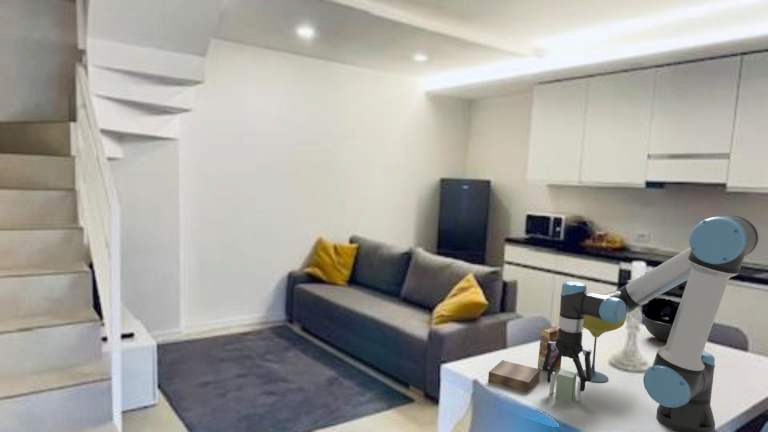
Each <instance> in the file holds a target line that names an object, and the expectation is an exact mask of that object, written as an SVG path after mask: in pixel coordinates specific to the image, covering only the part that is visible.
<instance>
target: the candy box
mask: <svg viewBox="0 0 768 432" xmlns="http://www.w3.org/2000/svg"><path fill="white" fill-rule="evenodd" d="M559 328H560V327H559V326H551V327H547V328H541V330H540V331H541V332H540V339H539V349H538V361H537V369H540V371H541V370H542V371H544V370H543V369H542V368H543V364H544V360H545V357H546V353H547V343H548V342H549V341H552V342H557V338H558V329H559ZM558 353H559V351H558V349H557V347H556V346H555V347H554V348H553V351H552V354H551V358H550V362H549V365H548V367H549V368H550V367H551V365H552V363H553V362H554V360H555V358H556V357H557V355H558ZM562 358H563V356H562V357H561V359H560V360H559V362H558V364H557V365H556V367H555V368H554V370H556V369H560V368H561V366H562Z"/></svg>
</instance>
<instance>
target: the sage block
mask: <svg viewBox="0 0 768 432" xmlns="http://www.w3.org/2000/svg"><path fill="white" fill-rule="evenodd" d="M576 383H577V372H574V371H570V370H566V369H560V370H559V371H558V372H557V374H556V386H555V398H557V399H560V400H564V401H568V402H572V401H573V400H574V398H575V395H576V387H577V386H576Z"/></svg>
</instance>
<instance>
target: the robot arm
mask: <svg viewBox="0 0 768 432" xmlns="http://www.w3.org/2000/svg"><path fill="white" fill-rule="evenodd" d="M688 239H689V241H688V243H689V244H688V245H689V247H688V248H687V249H685V250H682V251H681V252H680V253H678V254H676V255H675V256H673V257H671V258H669V259H668V260H666V261H664V262H662V263H661V264H659V265H658V266H655V267H654V268H651V269H650V270H649V271H647V272H646V273H644V274H642V275H640V276H639V277H637V278H635V279H634V280H632V281H630V282H629V283H627V284H625V285H623V286H622V287H619V288H618V289H617V290H614V291H611V292H608V293H604V294H600V293H596V292H595V293H594V292H591V291H587V290H588V289H587V285H586V284H585V283H582V282H579V281H565V282H563V283H562V285H561V292H560V306H559V307H560V308H559V316H558V326H557V327H560V328H559V329H558V338H557V342H552V341H549V342H548V343H547V353H546V357H545V360H544V364H543V368H542V369H543V370H542V371H544V372H547V378H546V380H547V383H549V394H550V395H552V394H553V393H554V391H555V382H556V381H555V380H556V379H555V378H556V372H554V370H555V369H554V368H555V367H556V365H557V364H558V362H559V360H560V359H561V360H562V358H563V357H565V358H569V359H572V361H573V363H574V366H575V369H576V371H577V372H578V374H579V376H578V377H579V379H578V382H577V390H576V392H577V393H576V400H575V401H577V402H580V400H581V398H582V392H584V391H585V390H586V382H588V383H590V381H591V379H592V371H591V368H592V364H591V363H592V362H591V354H592V349H586V348H584V347H583V343H582V342H583V330H584V327H583V321H584V315H586V316H590V317H593V318H597V319H601V320H604V321H606V322H613V323H619V322H621V321H622V319H623V318H624V316H625V317H626V314H629V313H631V312H634V311H635V310H637V308H638V307H641V306H642V305H643V304H645V303H647V302H650V301H652V300H654V299H656V298H657V297H658V296H660V295H662V294H664V293H666V292H668V291H669V290H671V289H673V288H675V287H677V286H679V285H680V284H682V283H684V282H686V285H685V288H684V290H683V294H682V297H681V299H680V303H679V306H678V307H677V308H678V311H677V314H676V317H675V320H674V323H673V326H672V329H671V332H670V335H669V338H668V341H666V343H665V344H666V345H664V346H661V347H659V348H658V349H657V352H656V355H655V357H654V360H653V364H652V366H650V367H648V368H647V369H646V371H645V372H644V375H643V379H642V380H643V381H642V382H643V386H644V389H645V391H646V392H647V394H648V396H649V397H650V398H651V399H652V400H653V401H655V402H656V403H657V404H658V406H657V409H656V419H657V421H658V422H659V423H660V424H662V426H663V425H664V426H665V427H666V428H668V429H670V430H672V431H674V432H715V430H716V422H715V418H714V415H713V410H712V406H711V401H712V400H711V399H712V393H713V392H712V391H713V383H714V373H715V368H716V365H715V361H716V360H715V357H714V355H713V354H711V353H710V352H708V351H705V347H706V344H707V341H708V339H709V336H710V333H711V330H712V327H713V325H714V321H715V319H716V316H717V314H718V310H719V308H720V305H721V302H722V299H723V297H724V294H725V291H726V288H727V285H728V283H729V279H730V278H732V277H736V276H737V275H739V273H740V270H741V267H742V265H743V262H744V259H745V257H746V256H748V255H750V254H751V253H752V252H754V251H755V250H756V248H757V246H758V243H759V239H760V238H759V232H758V230H757V227H756V226H755V225H754V223H752V222H751V221H750V220H748V219H746V218H745V217H742V216H739V215H738V216H737V215H726V216H722V215H721V216H719V215H718V216H712V217H709V218H705V219H704V220H702V221H700V222H699V223H698V224H696V225H695V226H694V228H693V229H692V230H691V232H690V235H689V237H688ZM555 346H556V347H557V349H558V351H559V353H558V355H557V357H556V358H555V360H554V362H553V363H552V365H551V367H550V368H549V367H548V365H549V362H550V358H551V354H552V351H553V348H554V347H555ZM580 353H582V355H583V357H584V367H585V370H586V376H585V373H584V371H583V370H584V368H583V365H582V363H581V360H580V359H581V358H580ZM561 357H562V358H561Z"/></svg>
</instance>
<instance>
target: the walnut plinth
mask: <svg viewBox="0 0 768 432" xmlns="http://www.w3.org/2000/svg"><path fill="white" fill-rule="evenodd" d="M540 375H541V369H539V368H537V367H532V366H528V365H523V364H519V363H515V362H512V361H509V360H500V362H499V363H497V364H496V365H495V366H494V367H493V368H492V369H490V370H489V371H488V381H487V382H488V383H492V384H495V385H498V386H502V387H506V388H509V389H513V390H516V391H520V392H523V393H527V394H528V393H530V391H531V390H532V388H533V387H534V386H535V385H536V384H537V382H539V380H540Z"/></svg>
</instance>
